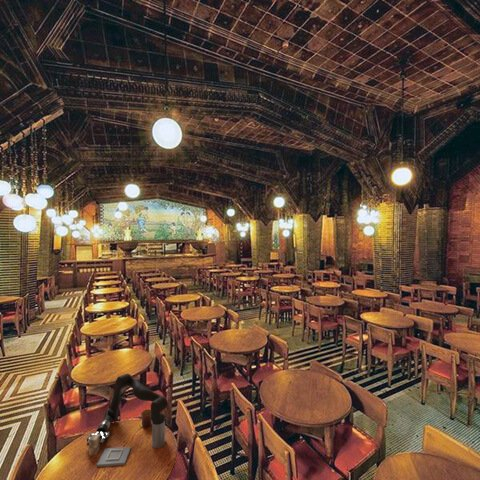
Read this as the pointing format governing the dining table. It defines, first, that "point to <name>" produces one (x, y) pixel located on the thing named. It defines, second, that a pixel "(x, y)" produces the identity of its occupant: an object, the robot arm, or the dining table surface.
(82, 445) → the dining table surface
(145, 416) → the mug
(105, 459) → the board
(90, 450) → the pillar
